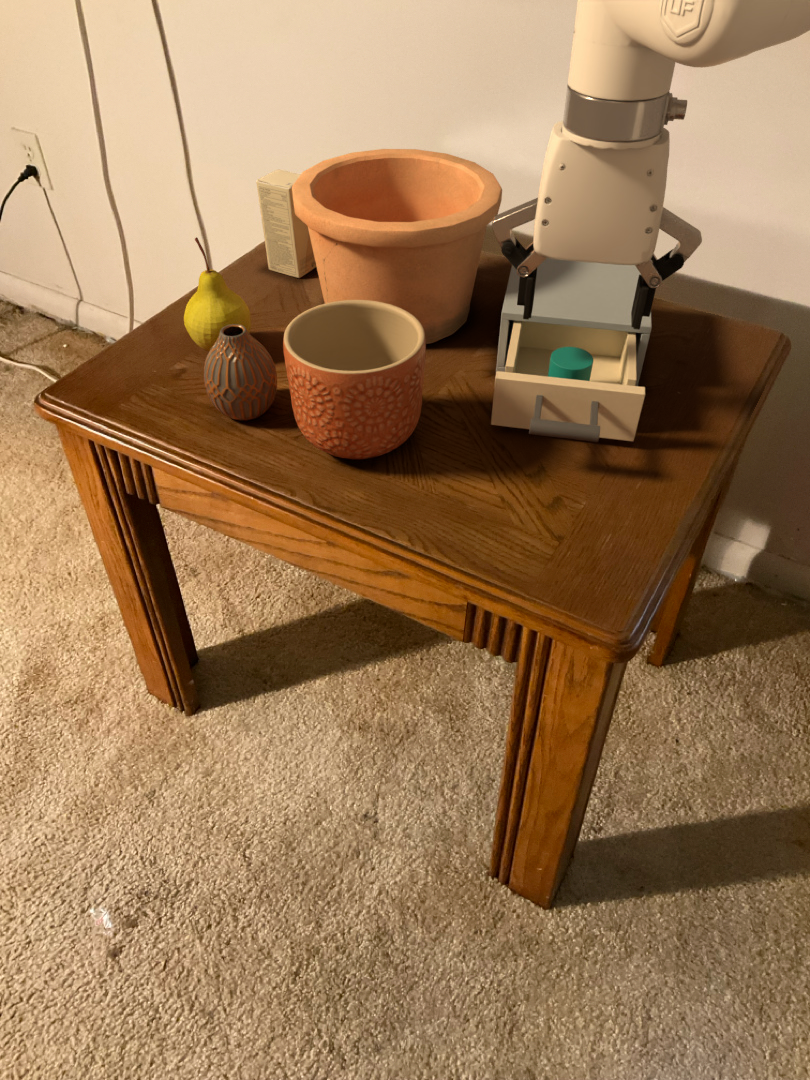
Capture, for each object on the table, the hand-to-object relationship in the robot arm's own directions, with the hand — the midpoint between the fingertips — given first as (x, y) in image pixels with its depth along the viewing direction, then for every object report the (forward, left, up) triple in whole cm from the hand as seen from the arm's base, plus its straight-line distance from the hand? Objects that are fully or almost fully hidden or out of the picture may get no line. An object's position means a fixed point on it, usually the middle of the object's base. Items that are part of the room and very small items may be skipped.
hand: (581, 316), depth 74 cm
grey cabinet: (0, -13, -10) cm, 16 cm away
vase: (+31, +6, -11) cm, 33 cm away
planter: (+19, +8, -11) cm, 23 cm away
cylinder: (0, 0, -8) cm, 8 cm away
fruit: (+37, -4, -11) cm, 39 cm away
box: (+35, -24, -11) cm, 44 cm away
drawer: (0, +1, -9) cm, 9 cm away
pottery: (+20, -16, -11) cm, 28 cm away
